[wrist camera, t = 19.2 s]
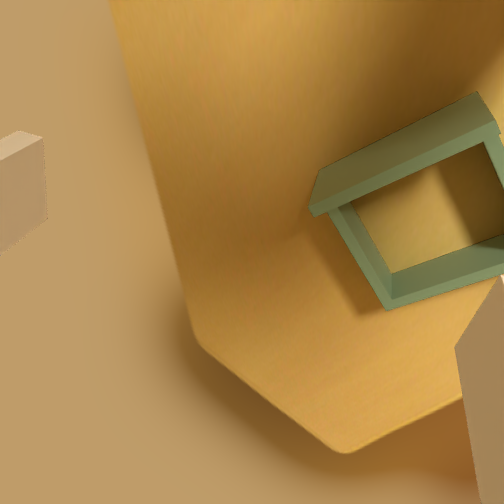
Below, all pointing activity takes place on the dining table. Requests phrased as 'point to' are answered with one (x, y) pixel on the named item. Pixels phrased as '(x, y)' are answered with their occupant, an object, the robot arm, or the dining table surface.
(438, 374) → the dining table surface
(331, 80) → the dining table surface
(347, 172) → the frame
